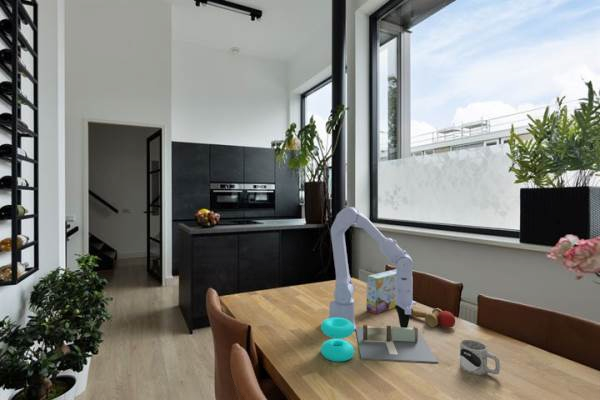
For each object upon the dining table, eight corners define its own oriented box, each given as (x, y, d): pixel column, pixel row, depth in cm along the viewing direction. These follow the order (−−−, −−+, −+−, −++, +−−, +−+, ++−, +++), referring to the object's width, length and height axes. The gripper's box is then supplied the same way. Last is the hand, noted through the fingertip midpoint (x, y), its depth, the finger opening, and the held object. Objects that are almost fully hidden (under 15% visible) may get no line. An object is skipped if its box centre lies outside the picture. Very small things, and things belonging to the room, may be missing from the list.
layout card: (361, 359, 94) (361, 357, 94) (355, 328, 116) (355, 326, 116) (438, 363, 92) (438, 361, 92) (418, 330, 114) (418, 329, 114)
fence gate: (392, 340, 104) (392, 327, 104) (391, 338, 106) (391, 325, 105) (418, 341, 103) (418, 328, 103) (417, 340, 105) (417, 326, 105)
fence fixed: (363, 341, 105) (363, 326, 105) (362, 339, 107) (363, 324, 106) (391, 343, 104) (391, 327, 104) (390, 341, 106) (390, 325, 106)
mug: (455, 367, 90) (455, 343, 90) (466, 359, 94) (467, 337, 94) (494, 384, 82) (494, 358, 82) (504, 375, 86) (505, 350, 86)
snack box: (376, 315, 128) (376, 278, 128) (365, 311, 133) (366, 275, 133) (406, 304, 142) (406, 270, 142) (395, 300, 146) (395, 268, 146)
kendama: (403, 322, 125) (450, 330, 111) (403, 305, 126) (449, 311, 113) (413, 321, 130) (459, 328, 116) (413, 304, 131) (458, 310, 118)
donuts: (357, 328, 92) (323, 329, 91) (357, 363, 92) (323, 364, 91) (350, 315, 102) (319, 316, 101) (350, 346, 102) (319, 347, 101)
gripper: (421, 296, 104) (420, 337, 104) (411, 283, 118) (410, 319, 119) (398, 295, 105) (398, 336, 105) (391, 283, 119) (391, 319, 119)
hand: (403, 327), depth 112 cm, fingers closed
